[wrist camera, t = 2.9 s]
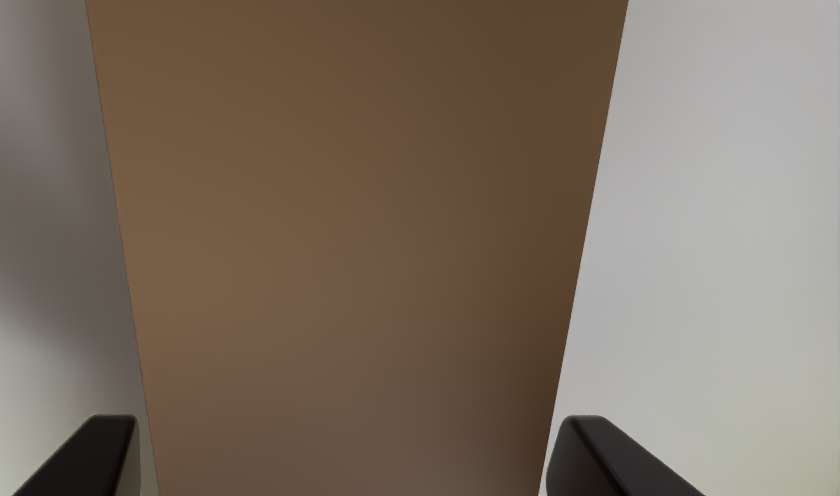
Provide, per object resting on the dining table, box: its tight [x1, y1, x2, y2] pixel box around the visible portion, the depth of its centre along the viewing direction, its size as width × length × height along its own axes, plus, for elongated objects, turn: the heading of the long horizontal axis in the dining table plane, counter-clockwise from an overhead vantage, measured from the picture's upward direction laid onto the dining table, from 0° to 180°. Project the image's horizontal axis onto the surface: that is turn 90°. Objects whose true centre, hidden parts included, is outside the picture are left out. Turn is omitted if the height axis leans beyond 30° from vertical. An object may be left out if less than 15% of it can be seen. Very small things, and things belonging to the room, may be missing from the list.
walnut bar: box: [85, 0, 628, 496], centre depth 8 cm, size 22×3×3 cm, turn 175°
